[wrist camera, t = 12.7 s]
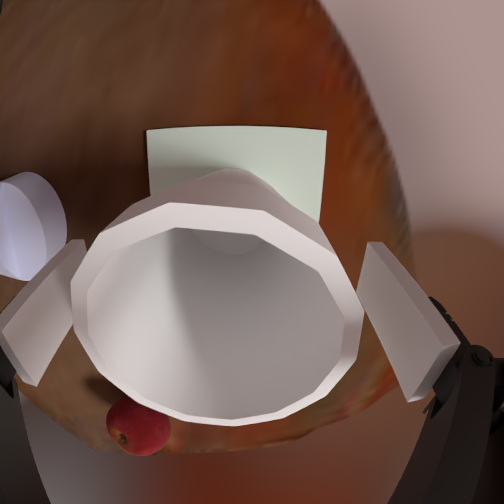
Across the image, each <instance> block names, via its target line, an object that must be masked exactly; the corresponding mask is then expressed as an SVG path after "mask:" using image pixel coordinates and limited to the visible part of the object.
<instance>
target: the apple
mask: <svg viewBox="0 0 504 504" xmlns="http://www.w3.org/2000/svg"><path fill="white" fill-rule="evenodd" d="M106 424H107V429H108V432H109V434H110V436H111V437H112V439H113V440H114V441H115V442H116V443H117V444H118V446H119V447H120V448H121V449H123V450H124V451H125V452H127V453H130V454H133V455H137V456H145V455H150V454H153V453H155V452H157V451H159V450H161V449H162V448H163V447H164V446H165V444H166V443H167V441H168V439H169V437H170V431H171V427H170V422H169V418H168V416H167V414H164V413H162V412H159V411H157V410H154V409H152V408H149V407H147V406H144V405H142V404H140V403H138V402H136V401H135V400H134V399H132V398H131V397H127V398H124V399H122V400H120V401H118V402H117V403H115V404H114V405H113V406H112V407H111V408H110V410H109V411H108V414H107V417H106Z"/></svg>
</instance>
